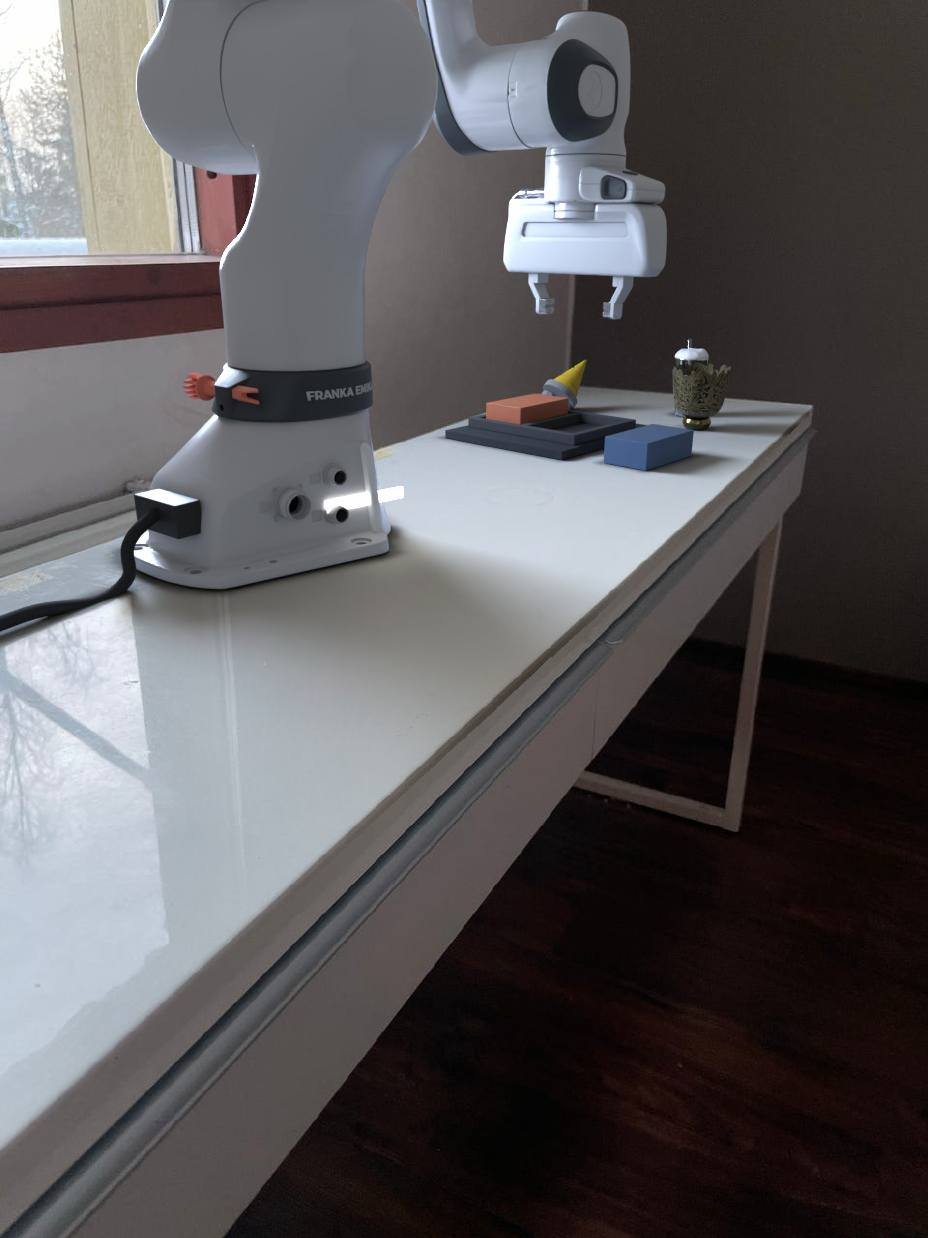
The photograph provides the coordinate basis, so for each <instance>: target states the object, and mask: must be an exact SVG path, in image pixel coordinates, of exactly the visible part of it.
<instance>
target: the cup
mask: <svg viewBox="0 0 928 1238" xmlns="http://www.w3.org/2000/svg"><path fill="white" fill-rule="evenodd" d="M671 368H672V396H673V397H672V398H673V404H674V408H675V407H676V409H677V410H678V412H679V413H681V414H682V415H684V416H685V417H683V418H682V421H681V422H682V425H683V427H684V429H690V430H694V431H704V430H707V429H708V428H710V426H711V424H712V419H711V417H714V416H715V415H717V414H719V412H720V410H722V408H723V405H724V403H725V400H726V396H727V393H728V387H729V384H730V379H731V374H732V370H733V368H732V366H731V365H729V366H727V365H726V364H723V365H721V366H720V368H719V369H717V368H716V369H714V364H713V363H711V362H710V363H707V366H706V367H705V365H703V364H701V363H699V362H697V363H696V364H695V365H693V367H691V368H690V365H689V364H687V363H686V364H685V368H684V369H683V366H682V365H681V364H678V366H677V365H676V364H675V363H674V365H672V367H671Z"/></svg>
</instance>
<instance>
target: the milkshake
mask: <svg viewBox="0 0 928 1238" xmlns="http://www.w3.org/2000/svg"><path fill="white" fill-rule="evenodd" d="M687 342H688V343H687V344H688V345H687V348H680V349H679V350H678V351H677V352H676V353H675V355H674V365H675V364H676V365H677V366H678V364H681V365H682V366H683V369H684V368H685V364H686V363H687V364H689V365H690V368H691V367H693V365H695V364H696V363H697V362H699V363H701V364H703V365H705V367H706V366H707V365H708V364H709V363H708V362H709V357H710V356H709V354H708V353H709V352H708V351H707V350H706V349H705V348H695V347H694V348H692V347H693V344H692V343H693V339H692V338H688V340H687ZM674 415H675V416H676V417H677V416H678V417H683V418H684V417H685V416H684V415H682V414H681V413H679V412H678V410H677V409H676V407H675V406H674Z"/></svg>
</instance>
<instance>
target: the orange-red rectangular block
mask: <svg viewBox="0 0 928 1238" xmlns="http://www.w3.org/2000/svg"><path fill="white" fill-rule="evenodd" d="M568 404H569V398H565V397H557V396H550V395H543V394H542V393H536V392H535V393H529V394H525V395H520V396H515V397H509V398H504V399H498V400H493V401H489V402H486V404H485V405H486V409H485V410H486V411H485V412H486V413H485V414H486V419H491V420H497V421H503V422H509V423H515V424H521V425H522V424H526V423H530V422H534V421H539V420H543V419H548V418H552V417H556V416H561V415H565V414H568Z"/></svg>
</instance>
